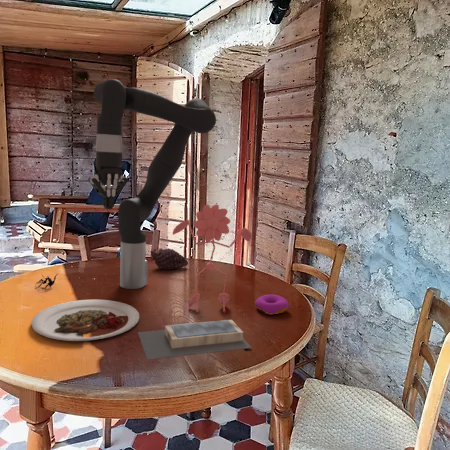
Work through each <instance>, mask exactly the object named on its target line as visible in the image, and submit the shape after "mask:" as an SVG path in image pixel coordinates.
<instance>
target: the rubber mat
mask: <svg viewBox="0 0 450 450" xmlns="http://www.w3.org/2000/svg"><path fill="white" fill-rule="evenodd" d="M137 334H138V337H139V340H140V343H141V345H142V348H143V352H144V355H145V357H146V360H147V361H148V360H155V359H156V360H157V359H165V358H174V357H181V356H183V357H184V356H191V355H200V354H208V353H216V352H217V353H218V352H224V351H226V352H227V351H235V350H242V349H243V351H246V350H245V349H250V348H252V346H251V345H250V344H249V343H248V342H247V341H246V339H245V338H244V337H243V341H236V342H227V343H217V344H208V345H199V346H190V347H180V348H172V347H171V345H170V343H169V341H168V339H167V337H166V335H165V329H160V330H159V329H158V330H148V331H137Z"/></svg>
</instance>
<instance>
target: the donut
mask: <svg viewBox="0 0 450 450" xmlns="http://www.w3.org/2000/svg"><path fill="white" fill-rule="evenodd" d="M254 305H255V306H256V308H257V307H258V308H259V309H261V310H262V311H264V312H268V313H281V312H284V311H285V312H286V311H287V309H288V308H289V307H290V304H289V302H288V300H287V299H286V298H284V297H283V296H281V295H278V294H272V293H271V294H265V295H262V296H261V295H260V296H259V297H258V298H257V299H255V301H254ZM262 311H261V312H262ZM285 312H284V313H285Z"/></svg>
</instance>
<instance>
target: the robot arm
mask: <svg viewBox="0 0 450 450" xmlns="http://www.w3.org/2000/svg"><path fill="white" fill-rule="evenodd" d="M93 97H94V98H95V100H96V101H97V102H98V104H100V105H101V111H100V113H99V114H98V116H97V119H96V139H95V165H96V169H95V172H94V175H93V176H91V177H89V178H88V182H89V183H90V185H91V186H92V188H93V189H94V191H95V192H96V193H97V194H98V195H100V196H102V197H103V199H102V203H103V204H102V205H103V207H104V209H105V210H112V209H113V207H114V206H115V196H117V195H120V194H121V193H122V191H123V189H124V187H126V186H127V185H126V184H127V183H128V181H129V178H128V177H125V176H124V175H123V171H122V167H123V139H122V137H123V135H122V134H123V131H122V130H123V127H122V126H123V125H122V122H123V121H122V120H123V118H124V113H125V110H127V111H131V112H134V113H138V114H143V115H145V116H150V117H154V118H157V119H158V118H159V119H162V120H163V121H168V122H171V123H172V124H173V123H174V125H173V127H172V129H171V131H170V132H169V134H168V136H167V137H166V139H165V140H164V142H163V144H162V146H161V147H160V149H159V150H158V151H157V153H156V154H155V155H154V158H153V159H152V161H151V163H150V164H149V166H148V170H147V175H146V181H145V183H144V186H143V187H142V189H141V190H140V192H138V194H137V195H136V196H135V197H133V198H126V199H124V200H122V201H121V203H120V204H119V206H118V210H117V224H118V229H117V230H118V233H119V236H120V257H119V259H120V262H119V263H120V265H119V266H120V269H119V272H120V273H119V275H120V276H119V286H120V288H123V289H127V290H130V289H131V290H137V289H141V288H144V287H145V286H147V285H148V263H149V262H148V260H147V258H146V254H147V234H146V233H145V232H143V231H142V230H141V223H142V222H144V221H146V220H147V219H148V218H149V217H150V215H151V214H152V212H153V210H154V208H155V206H156V204H157V202H158V200H159V198H160V197H161V195H162V193H163V192H164V191H165V190H166V188H167V187H168V185H169V184H170V183H171V181H172V179H173V178H174V177H175V175H176V174H177V172H178V171H179V169H180V167H181V166H182V164H183V161H184V157H185V152H186V147H187V143H188V141H189V139H190V137H191V135H192V133H193V132H195V133H198V134H202V135H203V134H207V133H209V132H211V131H212V130H213V129H214V127H215V126H216V122H217V118H216V116H217V115H216V114H215V112H214V110H213V109H212V108H211V107H210V106H209V105H208V104H207V103H206V102H205V101H204V100H203V99H201V98H197V97H194V98H192V99H190V100H188V101H187V103H185V104H184V105H182V104H179V103H177V102H175V101H173V100H170V99H169V98H167V97H164V96H163V95H161V94H158V93H156V92H153V91H150V90H147V89H143V88H139V87H127V86H124V84H123V83H122V82H121V81H120V80H118V79H115V78H110V79H106V80H102V81H99V82H98V83H97V84H95V87H94V89H93Z"/></svg>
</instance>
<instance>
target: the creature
mask: <svg viewBox="0 0 450 450" xmlns="http://www.w3.org/2000/svg"><path fill="white" fill-rule="evenodd" d="M41 276H42V278H40V280H39V281H38V282H36V283H35V286H36V285H38V284H39V285H38V286H37V287H36V288H34V290H35V289H39V288H41V286H42V285H45V287H43V289H44V290H46V289H47V287H48V286H49V288H50V287H52V286H53V285H54V284H55V281H56V278H57V276H58V273H56V274H55V276H54V278H53V280H52V278H51V277H50V276H47V277H45V276H44V275H43V274H41ZM43 278H44V279H43ZM47 282H48V283H47Z"/></svg>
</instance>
